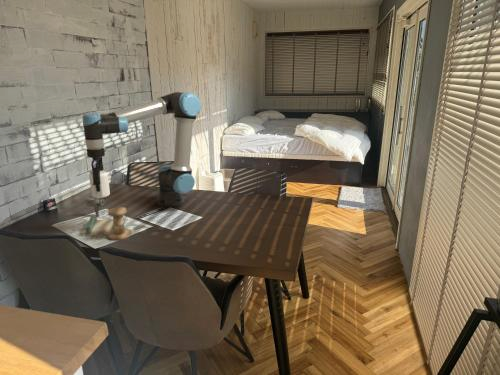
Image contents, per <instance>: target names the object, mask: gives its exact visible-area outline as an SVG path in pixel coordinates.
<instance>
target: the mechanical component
mask: <svg viewBox="0 0 500 375" xmlns="http://www.w3.org/2000/svg"><path fill="white" fill-rule="evenodd" d="M85 201H86V204H87V206H88V207H93V210H94V212H95V215H96V218H98V217H99V216H100V214H99V209H100V208H101V207H103V206H104V205H105V203H106V201H105V199H103V198H100V199H99V198H95V197H88V198H86V199H85Z"/></svg>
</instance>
